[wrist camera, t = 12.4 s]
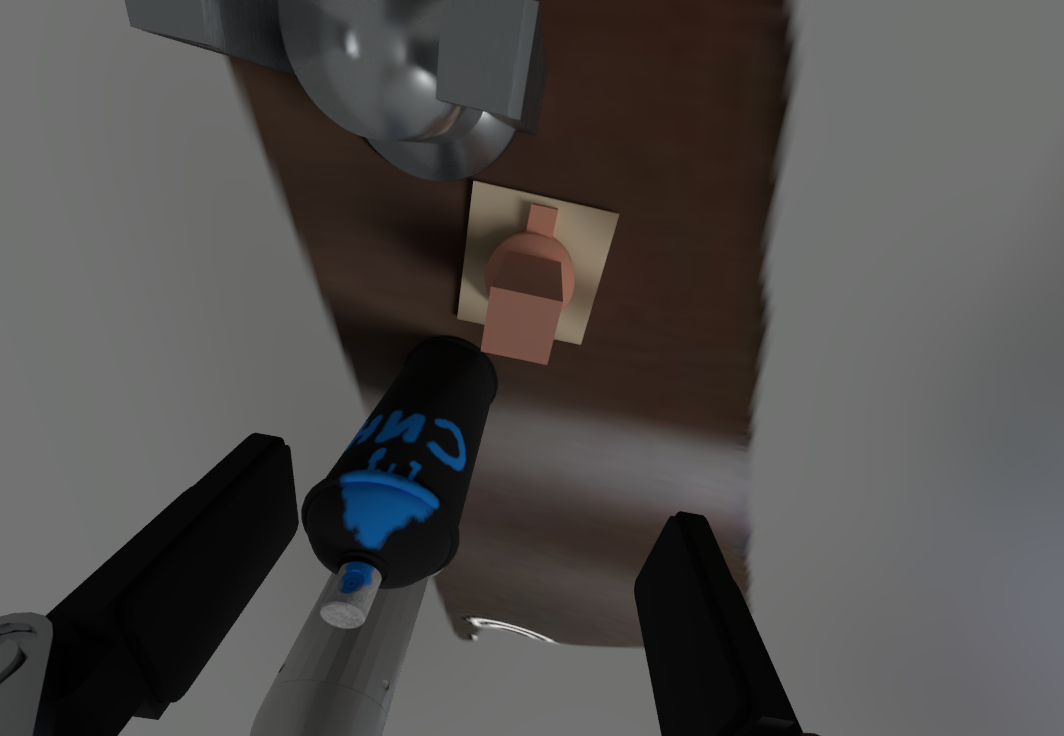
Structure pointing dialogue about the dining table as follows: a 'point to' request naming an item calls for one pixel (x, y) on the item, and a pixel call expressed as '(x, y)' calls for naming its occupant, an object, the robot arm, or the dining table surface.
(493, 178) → the dining table surface
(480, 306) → the mat
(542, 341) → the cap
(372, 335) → the dining table surface
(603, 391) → the dining table surface
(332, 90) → the column on round base
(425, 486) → the aerosol can
